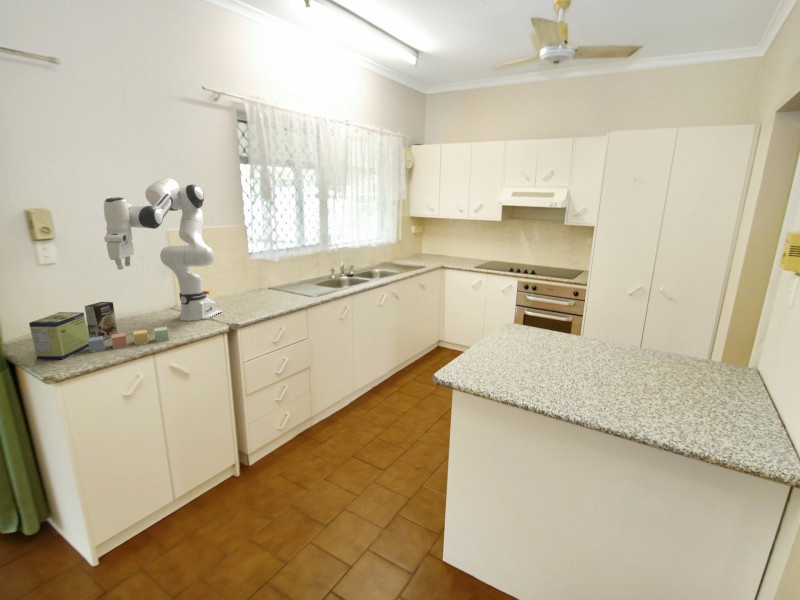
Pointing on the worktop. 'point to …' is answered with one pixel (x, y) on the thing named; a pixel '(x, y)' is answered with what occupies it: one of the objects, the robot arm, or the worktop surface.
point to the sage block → (161, 334)
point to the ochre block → (140, 337)
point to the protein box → (59, 335)
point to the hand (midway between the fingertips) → (124, 267)
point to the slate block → (96, 343)
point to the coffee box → (101, 319)
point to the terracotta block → (119, 340)
